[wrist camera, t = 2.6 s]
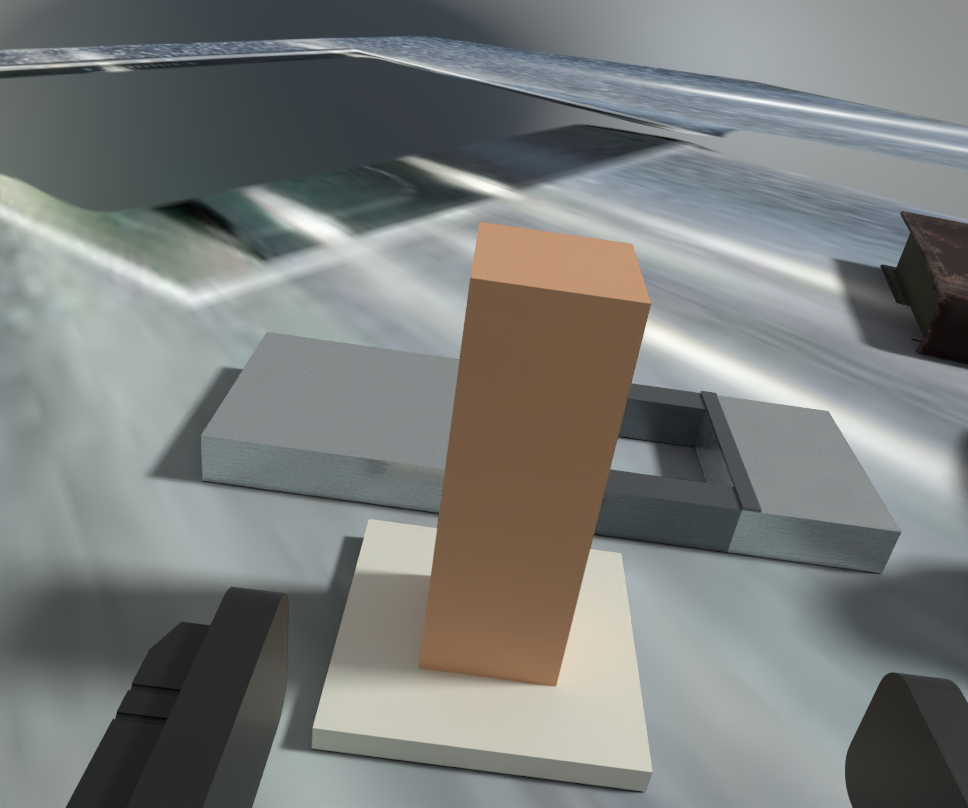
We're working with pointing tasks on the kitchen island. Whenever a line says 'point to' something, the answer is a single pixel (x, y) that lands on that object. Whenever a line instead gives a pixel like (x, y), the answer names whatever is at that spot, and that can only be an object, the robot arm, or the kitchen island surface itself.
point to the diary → (935, 284)
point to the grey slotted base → (628, 496)
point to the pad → (482, 680)
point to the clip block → (529, 447)
